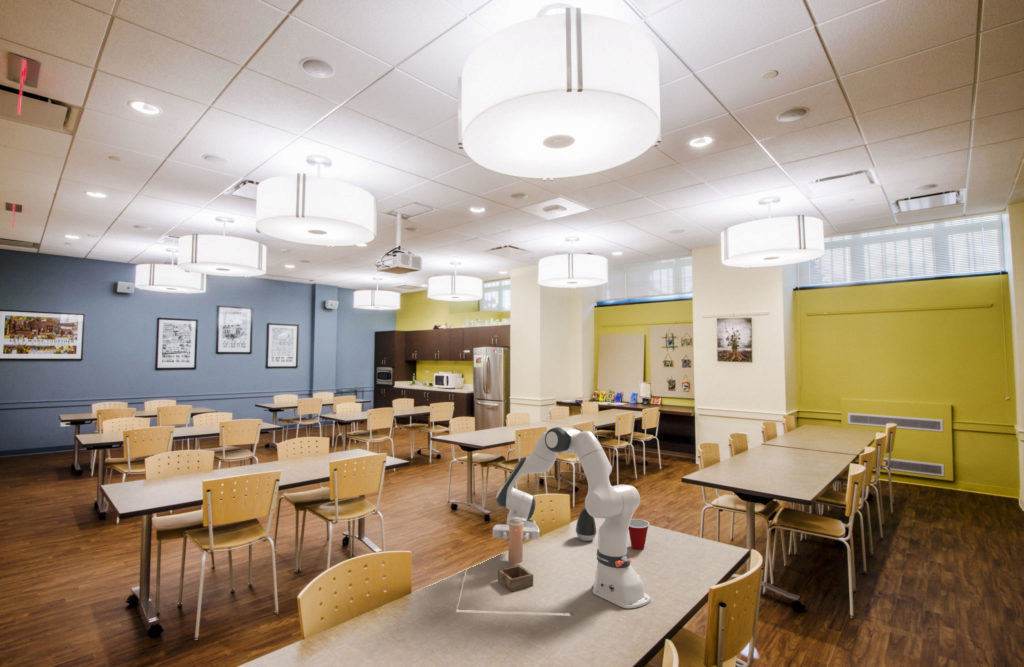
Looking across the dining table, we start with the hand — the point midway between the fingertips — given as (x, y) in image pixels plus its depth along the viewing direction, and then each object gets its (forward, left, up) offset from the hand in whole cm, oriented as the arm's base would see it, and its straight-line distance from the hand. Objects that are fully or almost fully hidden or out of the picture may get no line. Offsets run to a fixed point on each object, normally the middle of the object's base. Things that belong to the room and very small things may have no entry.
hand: (516, 538), depth 198 cm
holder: (-10, +6, -13) cm, 18 cm away
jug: (0, 0, -9) cm, 9 cm away
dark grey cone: (+15, -51, -13) cm, 54 cm away
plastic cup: (-5, -66, -13) cm, 67 cm away
